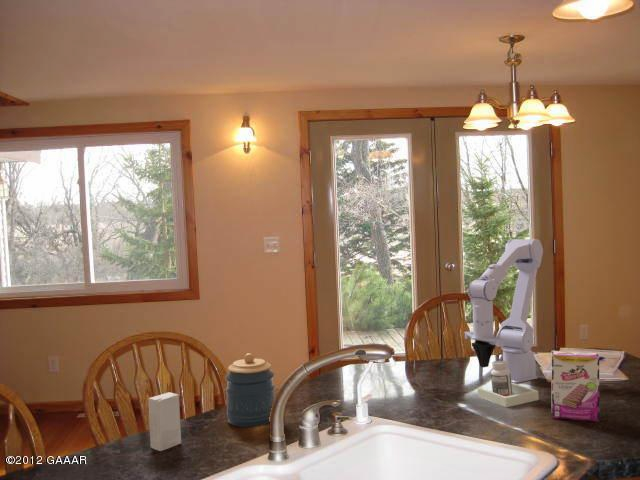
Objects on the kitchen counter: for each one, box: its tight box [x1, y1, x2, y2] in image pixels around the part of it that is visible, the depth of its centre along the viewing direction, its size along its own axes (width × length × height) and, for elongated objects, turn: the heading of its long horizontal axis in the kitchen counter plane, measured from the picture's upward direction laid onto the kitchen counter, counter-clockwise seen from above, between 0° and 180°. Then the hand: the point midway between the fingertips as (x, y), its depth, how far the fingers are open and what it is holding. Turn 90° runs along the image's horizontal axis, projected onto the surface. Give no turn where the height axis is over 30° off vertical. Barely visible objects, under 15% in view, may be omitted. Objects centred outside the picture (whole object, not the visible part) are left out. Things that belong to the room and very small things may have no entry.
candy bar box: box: [550, 350, 600, 423], centre depth 153 cm, size 11×5×16 cm, turn 71°
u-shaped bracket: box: [477, 382, 540, 408], centre depth 171 cm, size 12×11×2 cm
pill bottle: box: [490, 360, 514, 397], centre depth 172 cm, size 5×5×10 cm
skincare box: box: [147, 391, 182, 452], centre depth 144 cm, size 6×4×12 cm
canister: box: [224, 352, 276, 428], centre depth 160 cm, size 13×13×18 cm
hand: (484, 366), depth 179 cm, fingers closed
